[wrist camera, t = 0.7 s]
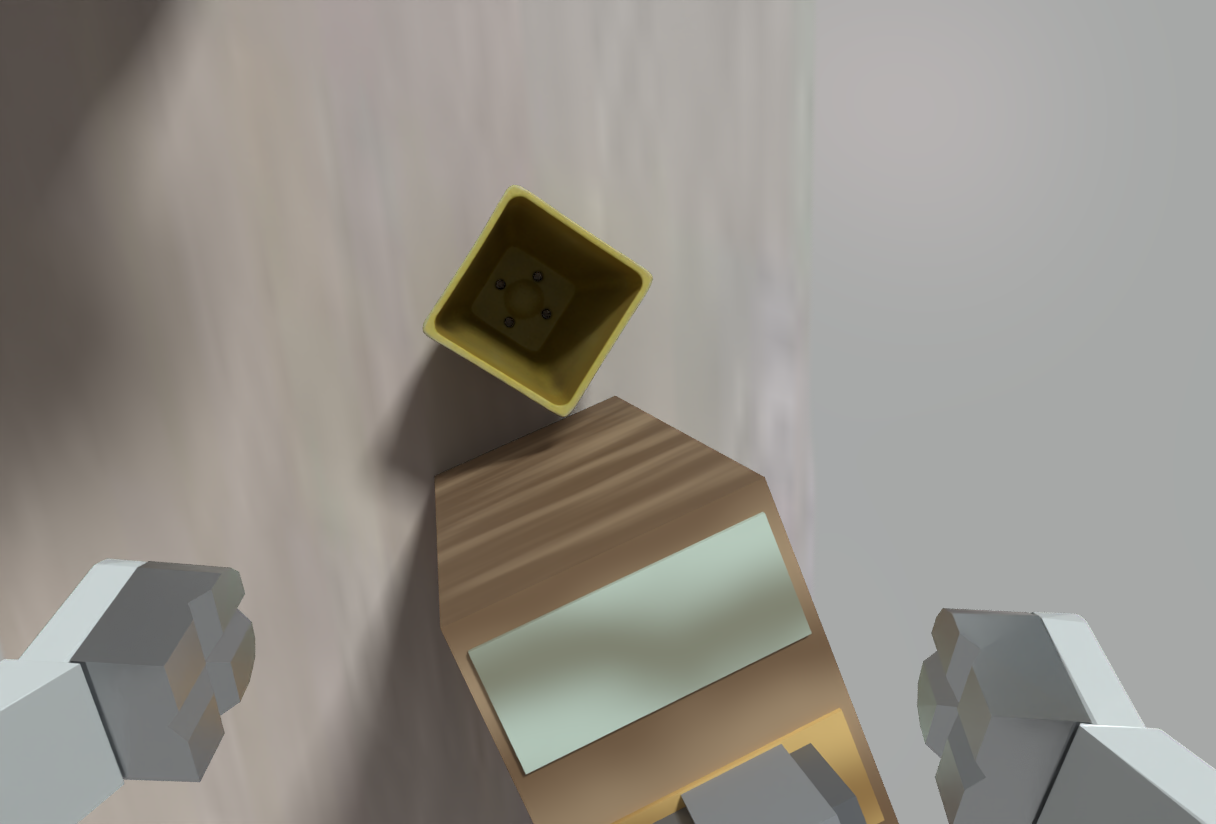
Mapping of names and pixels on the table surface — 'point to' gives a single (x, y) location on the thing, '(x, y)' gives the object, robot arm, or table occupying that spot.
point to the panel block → (634, 620)
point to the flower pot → (538, 302)
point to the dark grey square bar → (772, 793)
